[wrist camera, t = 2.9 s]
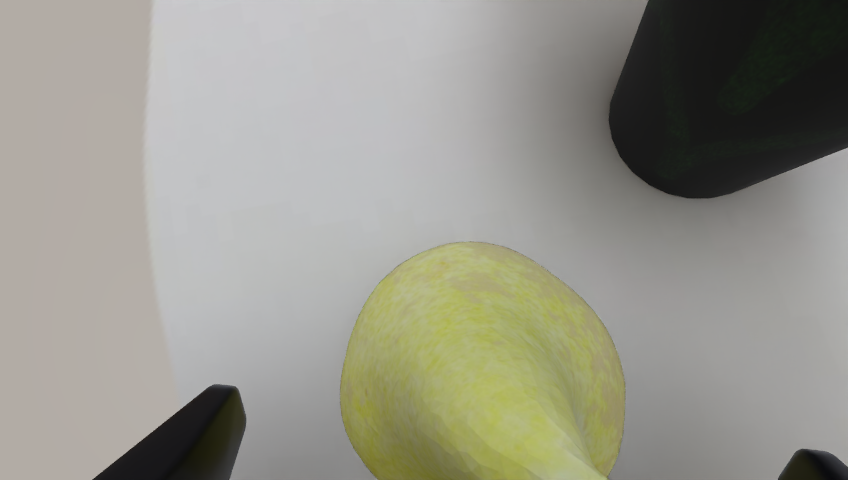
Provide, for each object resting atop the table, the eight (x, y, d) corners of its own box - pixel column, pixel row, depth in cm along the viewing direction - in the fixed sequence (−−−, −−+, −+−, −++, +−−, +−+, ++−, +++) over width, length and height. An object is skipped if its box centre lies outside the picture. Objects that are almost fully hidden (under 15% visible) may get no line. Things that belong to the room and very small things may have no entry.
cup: (838, 216, 17) (1712, -95, 5) (597, 242, 17) (884, 10, 5) (781, 5, 18) (1337, -601, 7) (562, 33, 19) (722, -490, 7)
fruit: (421, 237, 18) (335, 16, 6) (637, 331, 16) (1059, 288, 5) (333, 426, 17) (20, 611, 5) (557, 540, 15) (848, 1140, 4)
